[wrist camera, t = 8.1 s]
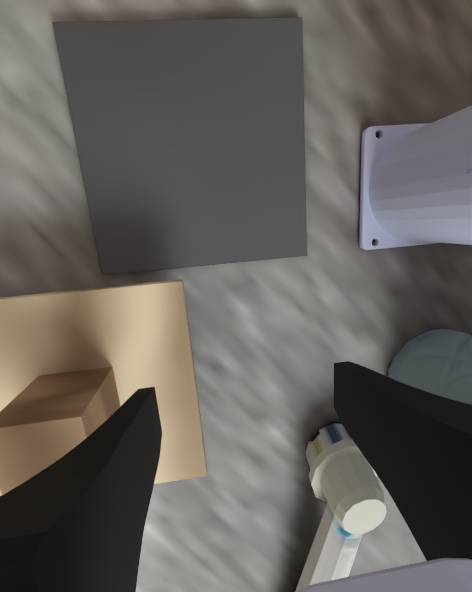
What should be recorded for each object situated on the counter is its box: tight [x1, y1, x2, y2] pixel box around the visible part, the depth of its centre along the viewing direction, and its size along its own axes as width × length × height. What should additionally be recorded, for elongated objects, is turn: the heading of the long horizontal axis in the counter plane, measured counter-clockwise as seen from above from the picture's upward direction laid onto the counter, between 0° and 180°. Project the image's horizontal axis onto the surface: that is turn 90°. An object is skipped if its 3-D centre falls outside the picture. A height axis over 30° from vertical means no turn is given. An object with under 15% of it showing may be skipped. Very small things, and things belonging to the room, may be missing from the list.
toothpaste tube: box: [296, 424, 386, 591], centre depth 26 cm, size 5×7×25 cm
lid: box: [0, 279, 207, 496], centre depth 15 cm, size 13×13×5 cm
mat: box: [53, 17, 307, 275], centre depth 19 cm, size 14×14×1 cm
